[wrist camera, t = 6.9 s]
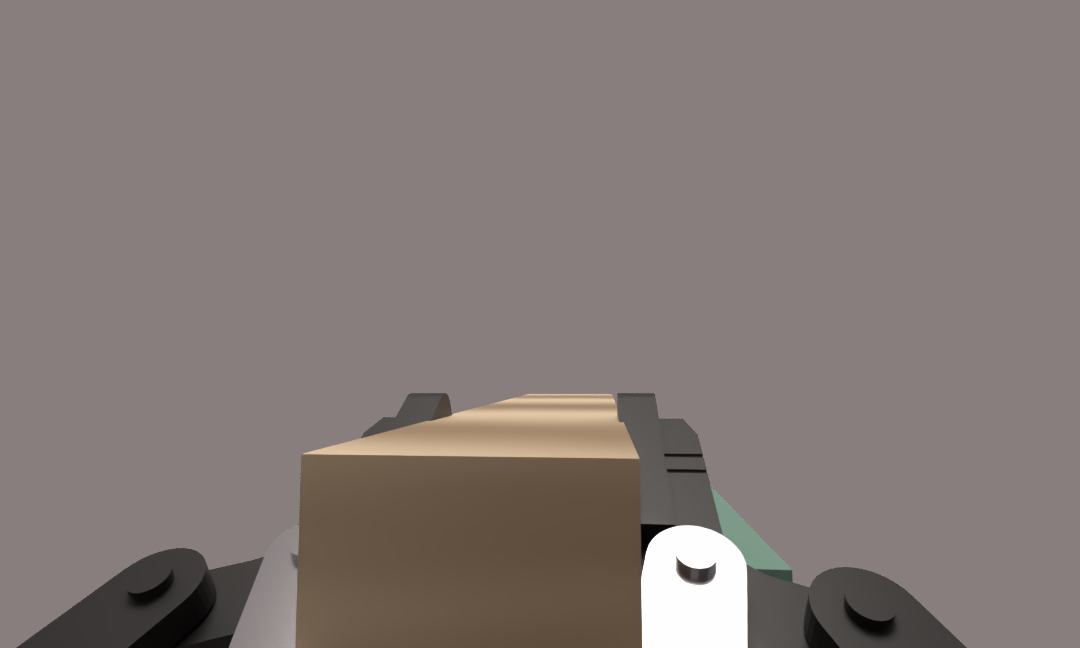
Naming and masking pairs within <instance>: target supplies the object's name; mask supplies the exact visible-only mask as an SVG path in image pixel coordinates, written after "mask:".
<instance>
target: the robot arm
mask: <svg viewBox="0 0 1080 648" xmlns="http://www.w3.org/2000/svg"><path fill="white" fill-rule="evenodd" d="M451 415H452V413H451V405H450V400H449V397H448V395H447V394H446V393H411V394H409V395H408V396H407V398H406V400H405V402H404V403H403V405H402V407H401V409H400V411H399V412H398V414H397V416H396V418H390V417H389V418H386V417H384V418H382V419H381V420H380V421H378V422H377V423H376V424H375V425H373V426H372V427H371V428H370V429H368V430H367V431H366V432H364V434H363V436H362V437H361V438H364V437H368V436H372V435H376V434H379V433H383V432H387V431H391V430H395V429H398V428H402V427H406V426H410V425H414V424H417V423H421V422H425V421H433V420H437V419H440V418H444V417H448V416H451ZM617 417H618V420H619V422H624V424H625V426H626V429H627V431H628V433H629V435H630V438H631V440H632V442H633V445H634V447H635V449H636V451H637V454H638V456H639V458H640V514H641V577H642V640H643V648H966V647H965V646H964V645H963V644H962V643H961V642H960V641H959V640H958V639H957V638H956V637H955V636H954V635H953V634H952V633H951V632H950V631H948V630H947V629H946V628H945V627H944V626H943V625H942V624H941V623H940V622H939V621H938V620H937V619H936V618H935V617H934V616H933V615H932V614H931V613H929V611H927V610H926V609H925V608H924V607H923V606H922V605H921V604H920V603H919V602H918V601H917V600H916V599H915V598H914V597H913V596H912V595H910V594H909V593H908V592H907V591H906V590H905V589H904V588H902V587H900V586H899V585H898V584H896V583H895V582H893V581H891V580H889V579H887V578H885V577H883V576H881V575H879V574H876V573H874V572H870V571H867V570H863V569H858V568H849V567H842V568H834V569H829V570H827V571H824V572H822V573H821V574H820V575H818V576H817V577H816V578H815V579H814V580H813V582H812V584H811V586H810V588H809V587H806V586H802V585H799V584H795V583H792V582H789V581H785V580H782V579H778V578H775V577H772V576H769V575H766V574H764V573H762V572H760V571H758V570H756V569H754V568H752V567H751V566H749V565H747V564H746V562H745V559H744V557H743V555H742V553H741V552H740V550H739V549H738V548H737V547H736V545H735V544H733V543H732V542H731V541H730V540H729V539H727V538H726V537H724V536H723V533H722V529H721V525H720V521H719V517H718V513H717V509H716V505H715V501H714V497H713V494H712V490H711V486H710V482H709V478H708V474H707V472H706V466H705V462H704V458H703V455H702V450H701V446H700V442H699V438H698V435H697V434H696V433H695V432H694V431H693V430H692V429H691V427H690V426H689V425H688V424H687V423H686V422H685V421H684V420H683V419H659V418H658V412H657V405H656V399H655V394H653V393H618V394H617ZM298 545H299V524H297V525H295V526H293V527H292V528H290V529H288V530H287V531H285V532H284V533H282V534H281V535H280V536H279V537H278V538H277V539H276V540H275V541H274V542H273V543H272V544H271V546H270V547H269V548H268V550H267V552H266V554H265V556H264V557H262V558H259V559H255V560H252V561H247V562H243V563H239V564H234V565H230V566H225V567H221V568H216V569H212V570H209V569H208V567H207V564H206V562H205V559H204V557H203V556H202V555H201V554H200V553H198V552H197V551H195V550H192V549H185V548H177V549H170V550H165V551H162V552H158V553H155V554H153V555H150V556H148V557H145V558H143V559H141V560H139V561H137V562H136V563H134V564H132V565H131V566H129V567H128V568H126V569H125V570H123V571H122V572H120V573H119V574H118V575H116V576H115V577H113V578H112V579H111V580H109V581H108V582H107V583H105V584H104V585H103V586H101V587H100V588H98V589H97V590H95V591H94V592H93V593H91V594H90V595H89V596H87V597H86V598H84V599H83V600H82V601H81V602H79V603H78V604H76V605H75V606H73V607H72V608H71V609H69V610H68V611H67V612H65V613H64V614H62V615H61V616H60V617H58V618H57V619H55V620H54V621H53V622H51V623H50V624H48V625H47V626H46V627H44V628H43V629H42V630H40V631H39V632H38V633H36V634H35V635H34V636H32V637H30V638H29V639H28V640H26V641H25V642H24V643H22V644H21V645H20V646H18V647H17V648H295V637H296V606H297V575H298Z"/></svg>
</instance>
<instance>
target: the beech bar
mask: <svg viewBox="0 0 1080 648" xmlns="http://www.w3.org/2000/svg"><path fill="white" fill-rule="evenodd" d="M295 648H643V640H642V577H641V514H640V458H639V456H638V454H637V451H636V449H635V447H634V445H633V442H632V440H631V438H630V435H629V433H628V431H627V429H626V426H625V424H624V422H619V420H618V417H617V406H616V403H615V401H614V399H613V396H612V394H527V395H523V396H520V397H516V398H512V399H508V400H504V401H500V402H497V403H493V404H489V405H485V406H482V407H478V408H474V409H470V410H466V411H463V412H459V413H455V414H452V415H451V416H448V417H444V418H440V419H437V420H433V421H425V422H421V423H417V424H414V425H410V426H406V427H402V428H398V429H395V430H391V431H387V432H383V433H379V434H376V435H372V436H368V437H364V438H361V439H357V440H353V441H349V442H345V443H342V444H338V445H334V446H330V447H327V448H323V449H319V450H315V451H311V452H308V453H304V454H301V483H300V517H299V545H298V575H297V606H296V637H295Z"/></svg>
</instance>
